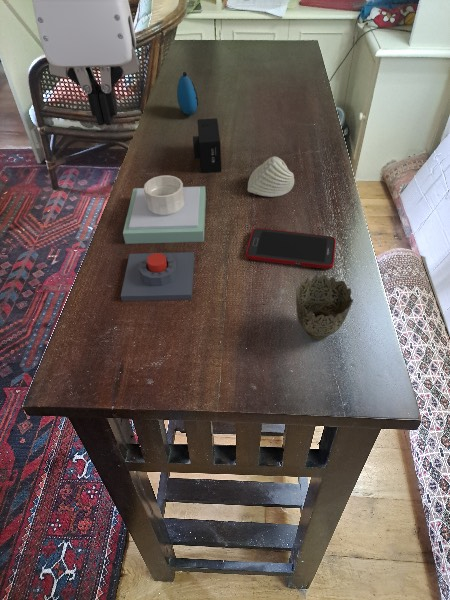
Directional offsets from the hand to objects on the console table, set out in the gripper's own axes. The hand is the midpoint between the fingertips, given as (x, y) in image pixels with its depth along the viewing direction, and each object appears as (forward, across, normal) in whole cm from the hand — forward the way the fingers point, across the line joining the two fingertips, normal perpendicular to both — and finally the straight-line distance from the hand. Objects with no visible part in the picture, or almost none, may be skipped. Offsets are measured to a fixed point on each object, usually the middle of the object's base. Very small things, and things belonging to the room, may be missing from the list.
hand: (106, 120), depth 59 cm
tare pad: (+25, -4, +4) cm, 26 cm away
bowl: (+22, -4, -12) cm, 25 cm away
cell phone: (+25, -26, -2) cm, 36 cm away
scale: (+25, -4, -12) cm, 28 cm away
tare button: (+22, -4, +4) cm, 23 cm away
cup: (+25, -28, +16) cm, 41 cm away
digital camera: (+25, -11, -33) cm, 43 cm away
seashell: (+25, -24, -22) cm, 41 cm away
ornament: (+20, -6, -56) cm, 60 cm away
